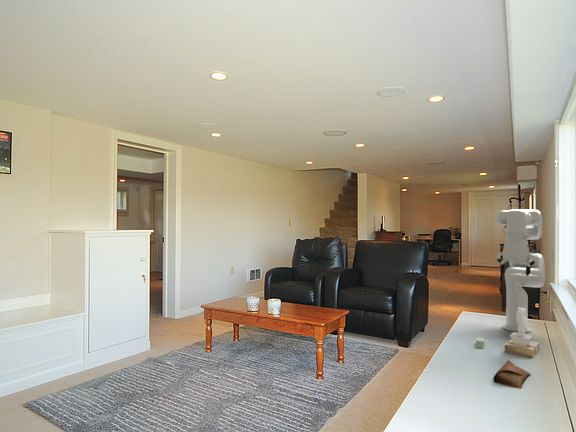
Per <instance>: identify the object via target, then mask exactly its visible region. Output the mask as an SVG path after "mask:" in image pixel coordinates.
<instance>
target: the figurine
mask: <svg viewBox="0 0 576 432" xmlns="http://www.w3.org/2000/svg"><path fill="white" fill-rule="evenodd" d="M525 313H526V309H524V308H518V311H517V318H516V320H517V323H518V332H516V331H512V333H511V334H509V336H510V338H511V339H512V341H513V343H514V344H515V345H521V346H527V345H528V344H529V342H530V341H532V338H533V336H534V335H531V334H526V332H525V328H526V327H528V319H527V318H526V316H525ZM511 339H510V340H511Z"/></svg>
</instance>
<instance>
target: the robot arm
mask: <svg viewBox="0 0 576 432" xmlns="http://www.w3.org/2000/svg"><path fill="white" fill-rule="evenodd" d="M496 222H497V225H498V226H500V227H504V228H505V229H504V237H505V240H504V243H503V249H502V250H503V251H501V252H498V253H496V254H495V255H494V257H495V258H496V261H497V262H498V263H499V264H500V271H501V273H502V274H504V281H505V288H506V290H505V291H506V297H505V298H506V299H505V301H506V302H505V303H506V304H505V305H506V306H505V307H506V308H505V312H506V313H505V323H504V324H502V329H504V330H507V331H511V332H516V333H518V323H517V320H516V318H517V311H518V308H524V309H526V313H525V316H526V318H527V320H528V317H529V316H528V312H529V311H528V308H529V307H528V306H529V303H528V302H529V300H528V298H529V297H528V293H527V292H526V290H525V288H523V287H527V288H539V289H540V288H542V287H544V285H545V281H546V270H545V269H546V267H545V265H546V264H545V258H544V256H543V255H542V254H541V253H536V252H530V247H529V240H530V241H532V240H533V241H537V240H539V239H541V238H542V235H543V217H542V213H541V211H540V210H538V209H509V210H503V209H502V210H499V211H498V212H497V215H496ZM500 256H502V259H501V258H500ZM507 262H508V263H509V267H507V266H506V263H507ZM506 267H507V268H506ZM531 331H532V328H531V327H529V326H527V327H526V328H525V333H528V332H531Z"/></svg>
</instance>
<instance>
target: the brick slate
mask: <svg viewBox="0 0 576 432" xmlns="http://www.w3.org/2000/svg"><path fill="white" fill-rule="evenodd" d="M529 343H534V344H538V351H540V350H541V343H540V342H538V341H532V340H530V342H529Z"/></svg>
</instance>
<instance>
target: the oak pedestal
mask: <svg viewBox="0 0 576 432" xmlns="http://www.w3.org/2000/svg"><path fill="white" fill-rule="evenodd" d="M538 351H539V350H538V344H534V343H529V344H528V345H527V346H521V345H515V344H514V343H513V341H512V339H510V340H508V341H507V342H506V343H505V344H504V353H509V354H512V355H518V356H523V357H527V358H532V359H533V358H534V357H535V356H536V355H537V353H538Z"/></svg>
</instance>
